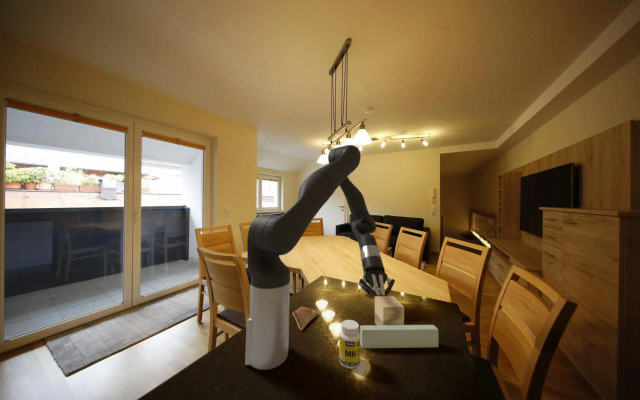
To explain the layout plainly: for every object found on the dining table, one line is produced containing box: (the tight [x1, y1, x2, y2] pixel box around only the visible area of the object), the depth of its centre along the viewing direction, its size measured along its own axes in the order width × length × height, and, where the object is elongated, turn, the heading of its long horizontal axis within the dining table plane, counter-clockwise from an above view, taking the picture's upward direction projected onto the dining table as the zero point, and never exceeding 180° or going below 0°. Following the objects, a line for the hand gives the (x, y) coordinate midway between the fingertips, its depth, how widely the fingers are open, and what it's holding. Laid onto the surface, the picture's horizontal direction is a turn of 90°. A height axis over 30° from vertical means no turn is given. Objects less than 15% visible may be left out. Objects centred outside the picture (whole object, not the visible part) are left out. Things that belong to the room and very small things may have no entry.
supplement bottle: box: [338, 319, 361, 370], centre depth 47 cm, size 5×5×8 cm
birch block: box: [374, 295, 405, 325], centre depth 60 cm, size 6×7×8 cm
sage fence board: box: [359, 324, 439, 349], centre depth 53 cm, size 20×2×4 cm, turn 93°
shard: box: [292, 306, 319, 332], centre depth 64 cm, size 11×8×2 cm
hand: (382, 309), depth 64 cm, fingers closed
